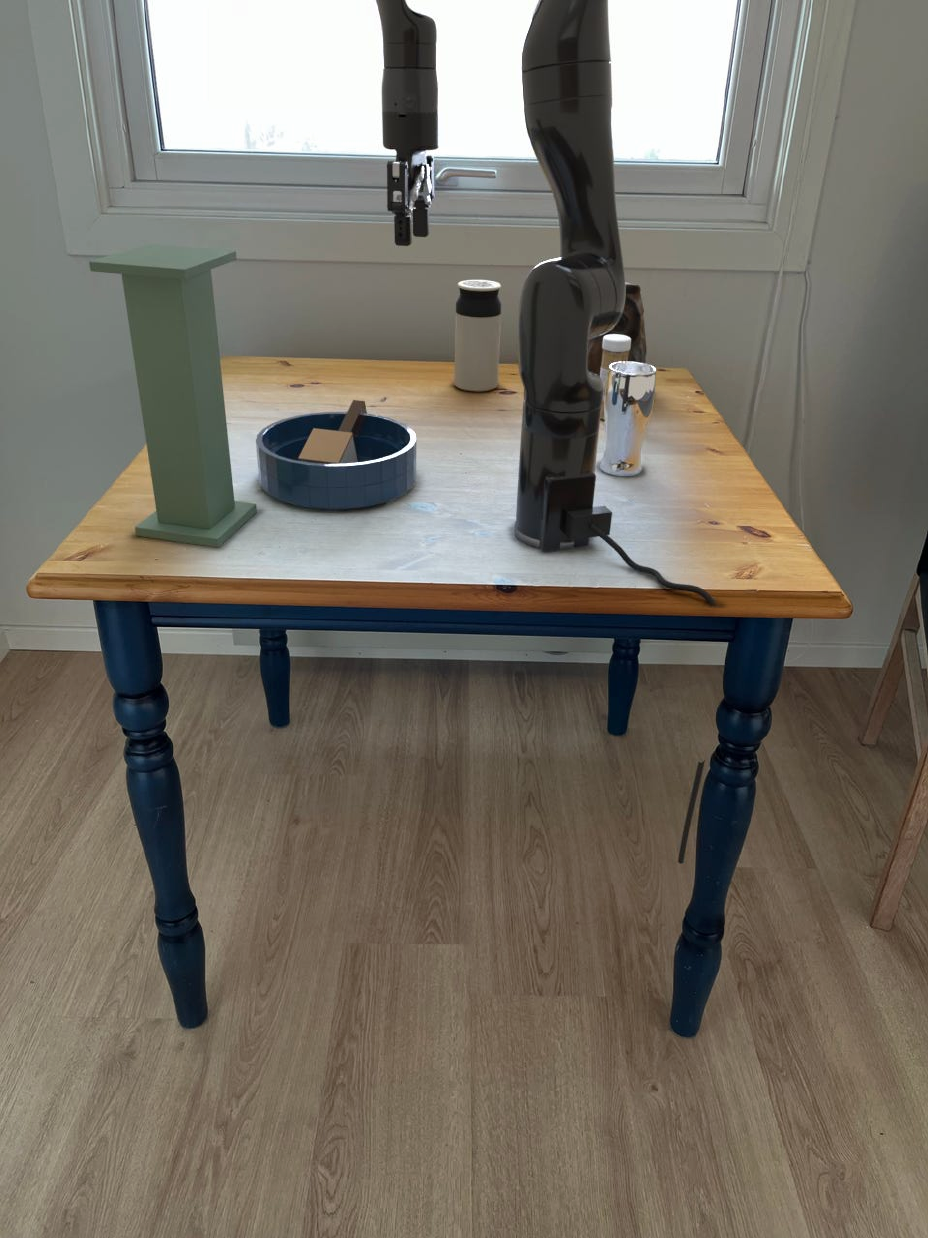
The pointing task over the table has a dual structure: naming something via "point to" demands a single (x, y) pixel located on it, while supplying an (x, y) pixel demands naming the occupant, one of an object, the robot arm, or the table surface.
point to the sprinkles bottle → (613, 357)
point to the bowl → (337, 486)
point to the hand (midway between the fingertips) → (412, 240)
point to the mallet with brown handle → (336, 439)
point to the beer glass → (627, 416)
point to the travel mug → (477, 335)
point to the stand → (180, 390)
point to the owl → (623, 331)
